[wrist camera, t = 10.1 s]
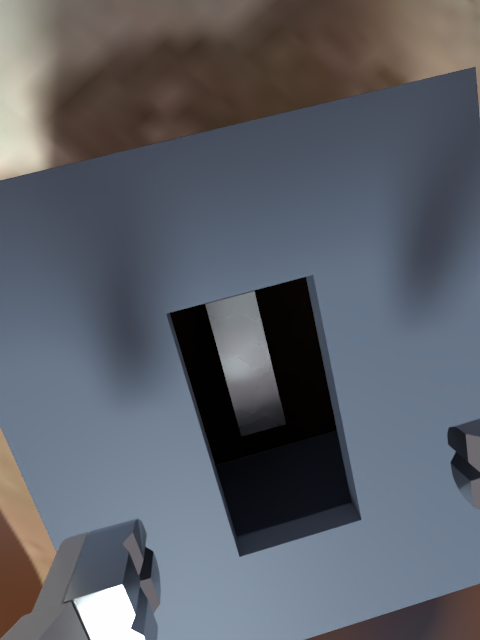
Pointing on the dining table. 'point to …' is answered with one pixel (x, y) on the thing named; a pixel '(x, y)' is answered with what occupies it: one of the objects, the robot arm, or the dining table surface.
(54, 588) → the robot arm
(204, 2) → the dining table surface
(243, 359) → the grey rectangular block
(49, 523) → the coin box
